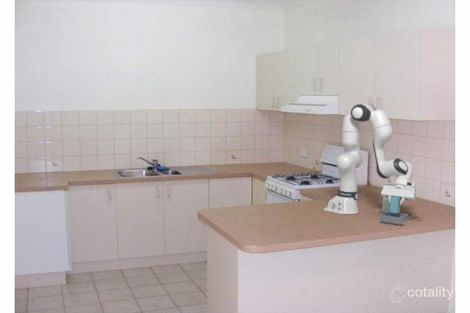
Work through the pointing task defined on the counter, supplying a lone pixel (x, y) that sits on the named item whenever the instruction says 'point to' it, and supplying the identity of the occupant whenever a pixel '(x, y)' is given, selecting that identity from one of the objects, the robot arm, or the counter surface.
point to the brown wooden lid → (414, 218)
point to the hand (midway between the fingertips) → (394, 203)
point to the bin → (393, 218)
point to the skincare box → (386, 205)
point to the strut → (394, 205)
